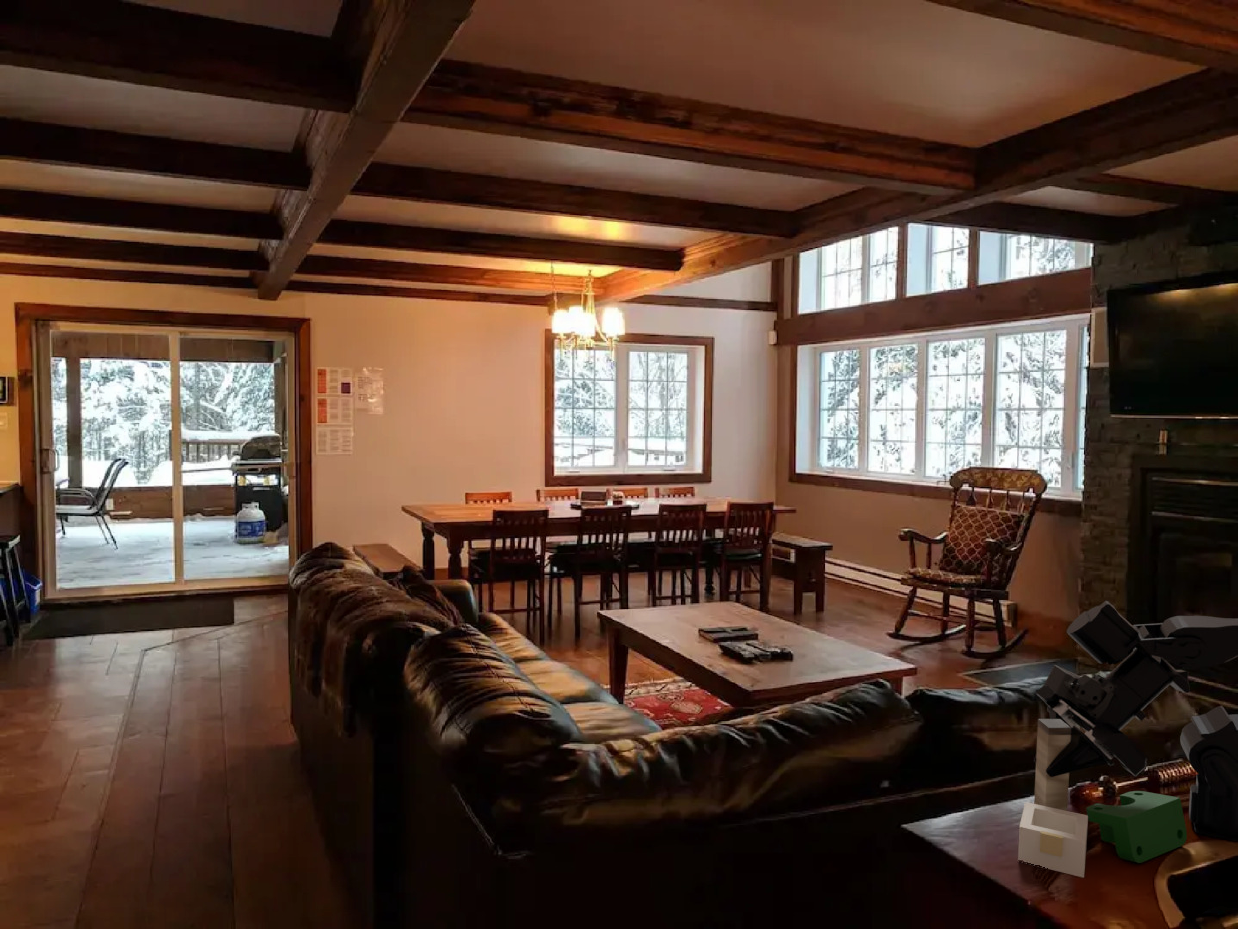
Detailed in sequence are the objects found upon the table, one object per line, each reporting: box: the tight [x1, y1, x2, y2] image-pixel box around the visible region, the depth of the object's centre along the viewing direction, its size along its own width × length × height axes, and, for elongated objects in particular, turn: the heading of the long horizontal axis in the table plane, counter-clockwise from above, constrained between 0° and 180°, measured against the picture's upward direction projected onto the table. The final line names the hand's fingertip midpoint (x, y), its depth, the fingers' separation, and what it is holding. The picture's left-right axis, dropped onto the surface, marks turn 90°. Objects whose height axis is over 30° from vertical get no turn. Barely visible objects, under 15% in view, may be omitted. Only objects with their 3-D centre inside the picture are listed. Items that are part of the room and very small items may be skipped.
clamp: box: [1085, 790, 1188, 864], centre depth 111 cm, size 12×6×9 cm, turn 112°
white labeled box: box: [1017, 801, 1089, 878], centre depth 108 cm, size 7×8×5 cm
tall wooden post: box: [1033, 718, 1071, 811], centre depth 118 cm, size 3×3×13 cm
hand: (1041, 768), depth 118 cm, fingers closed on tall wooden post, 3 cm apart
